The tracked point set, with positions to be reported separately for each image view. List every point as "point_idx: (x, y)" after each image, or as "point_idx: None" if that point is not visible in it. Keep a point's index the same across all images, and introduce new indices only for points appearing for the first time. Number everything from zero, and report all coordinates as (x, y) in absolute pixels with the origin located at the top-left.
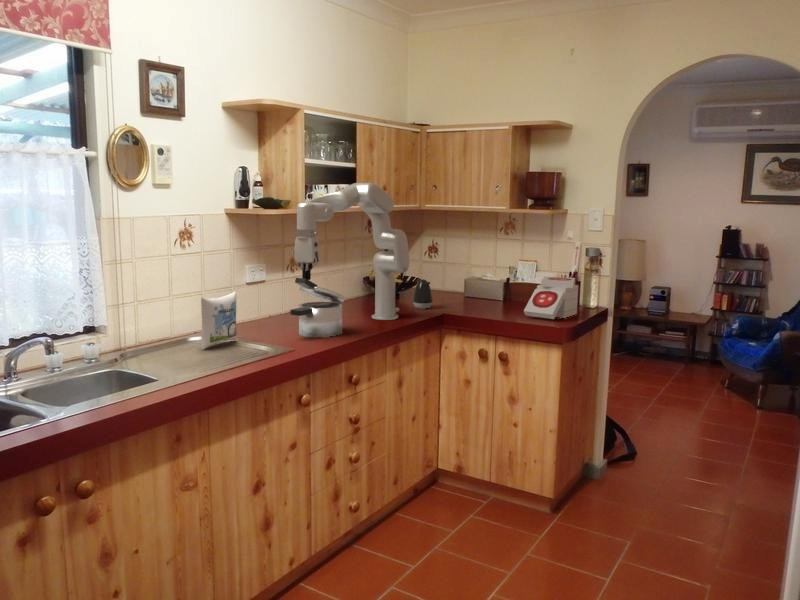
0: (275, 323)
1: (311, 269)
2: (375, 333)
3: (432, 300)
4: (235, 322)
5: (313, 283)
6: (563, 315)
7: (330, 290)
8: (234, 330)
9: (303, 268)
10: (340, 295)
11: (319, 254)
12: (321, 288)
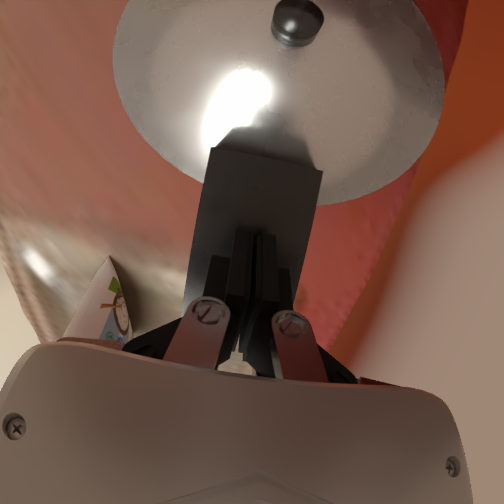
0: (45, 12)
1: (303, 323)
2: (453, 27)
3: None
4: (114, 316)
5: (310, 228)
6: None
7: (416, 159)
8: (121, 304)
9: (218, 365)
10: (441, 90)
11: (465, 495)
12: (365, 193)
